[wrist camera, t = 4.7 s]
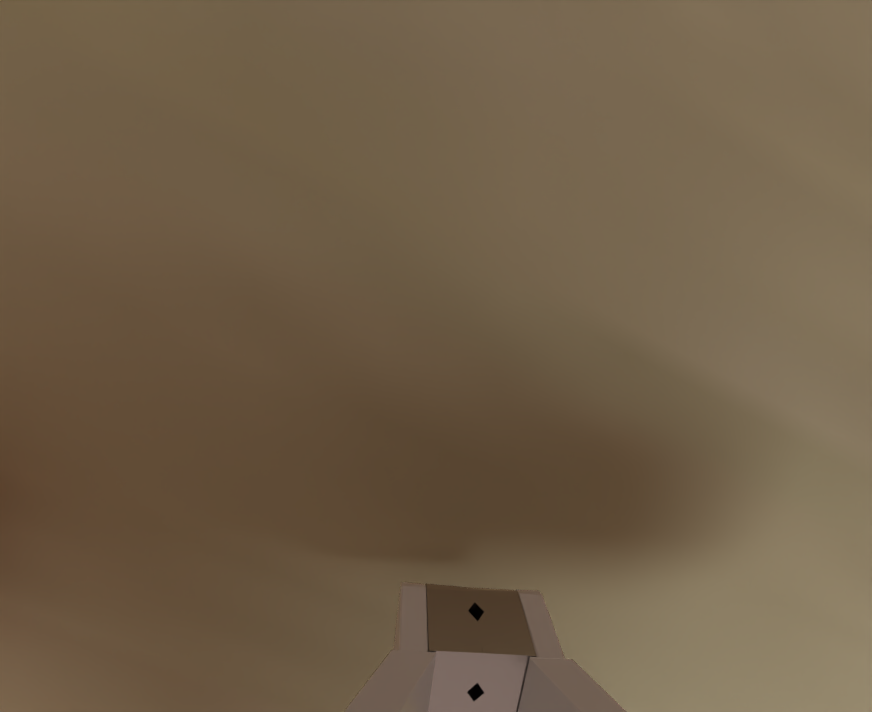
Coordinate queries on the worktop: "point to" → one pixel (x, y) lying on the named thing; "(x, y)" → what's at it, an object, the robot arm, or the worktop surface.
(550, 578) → the worktop surface
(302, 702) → the worktop surface
